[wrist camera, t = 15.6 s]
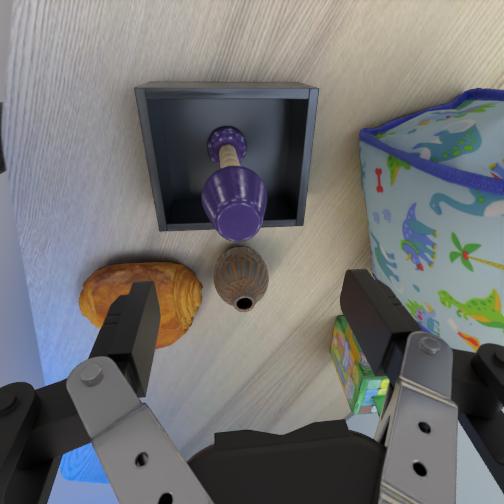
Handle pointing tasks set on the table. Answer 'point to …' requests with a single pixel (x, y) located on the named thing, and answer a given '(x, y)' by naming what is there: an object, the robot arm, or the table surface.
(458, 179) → the lunch bag
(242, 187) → the toy lamp
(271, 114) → the open box
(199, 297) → the croissant
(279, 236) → the table surface
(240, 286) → the vase
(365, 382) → the chalk box
